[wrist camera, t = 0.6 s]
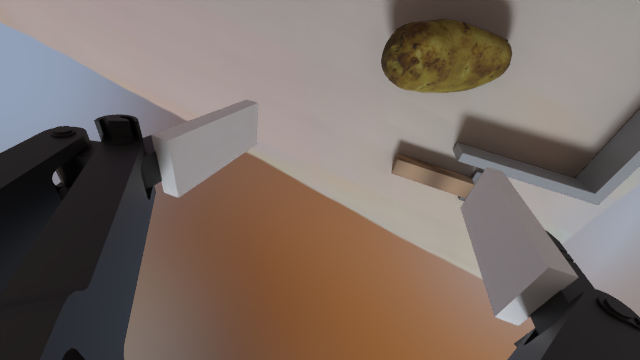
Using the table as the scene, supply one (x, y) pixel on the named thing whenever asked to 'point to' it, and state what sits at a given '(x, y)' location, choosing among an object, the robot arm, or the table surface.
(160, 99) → the table surface
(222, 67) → the table surface
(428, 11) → the table surface
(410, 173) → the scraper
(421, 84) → the potato
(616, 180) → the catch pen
